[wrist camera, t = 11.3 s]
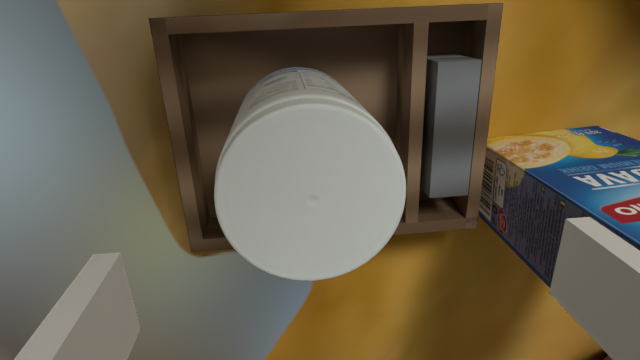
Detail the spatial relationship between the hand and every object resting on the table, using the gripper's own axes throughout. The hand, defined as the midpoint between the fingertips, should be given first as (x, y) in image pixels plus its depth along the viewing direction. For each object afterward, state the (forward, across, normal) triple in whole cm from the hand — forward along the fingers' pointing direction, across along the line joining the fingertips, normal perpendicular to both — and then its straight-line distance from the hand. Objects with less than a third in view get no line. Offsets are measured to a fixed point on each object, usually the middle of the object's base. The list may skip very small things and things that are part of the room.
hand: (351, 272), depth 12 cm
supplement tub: (+22, -1, -1) cm, 22 cm away
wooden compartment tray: (+23, +2, -1) cm, 23 cm away
